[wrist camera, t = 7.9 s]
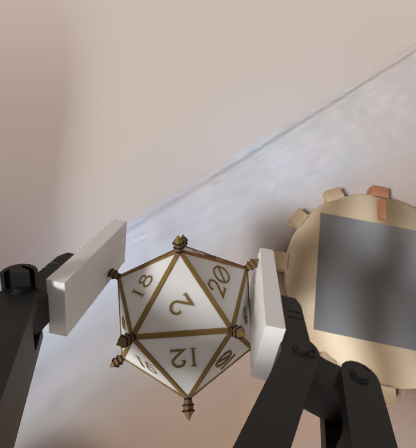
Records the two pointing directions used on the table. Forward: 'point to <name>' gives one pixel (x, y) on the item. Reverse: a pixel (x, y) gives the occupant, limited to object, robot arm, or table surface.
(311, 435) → the table surface
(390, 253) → the sprocket plate
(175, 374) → the game die
